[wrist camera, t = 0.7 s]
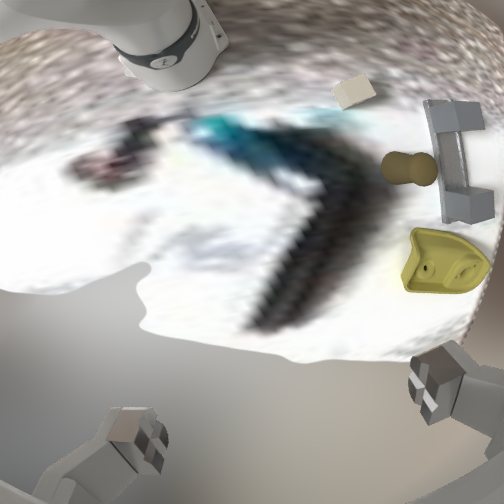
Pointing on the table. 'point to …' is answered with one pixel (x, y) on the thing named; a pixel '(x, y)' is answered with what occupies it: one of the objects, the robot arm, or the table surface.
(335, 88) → the beige block
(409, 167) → the cork
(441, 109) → the block
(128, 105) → the table surface
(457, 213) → the block
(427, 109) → the rail
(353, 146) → the table surface
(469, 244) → the plastic component
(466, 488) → the robot arm
